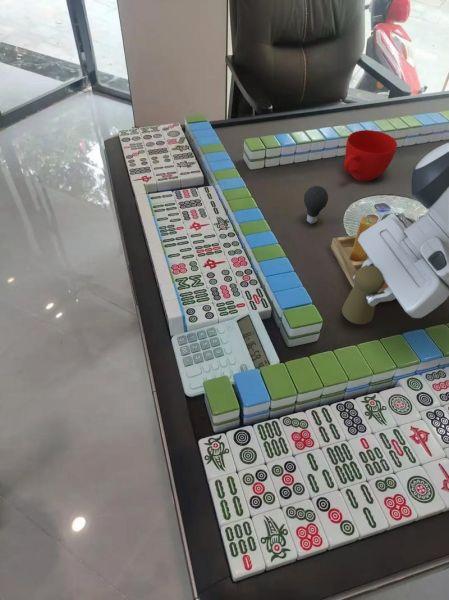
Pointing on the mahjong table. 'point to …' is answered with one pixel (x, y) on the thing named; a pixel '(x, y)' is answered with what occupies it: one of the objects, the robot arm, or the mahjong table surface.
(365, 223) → the supplement box
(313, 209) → the light bulb
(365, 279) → the olive pawn figure
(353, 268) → the sorting tray
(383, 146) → the ceramic cup
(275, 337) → the mahjong table surface
